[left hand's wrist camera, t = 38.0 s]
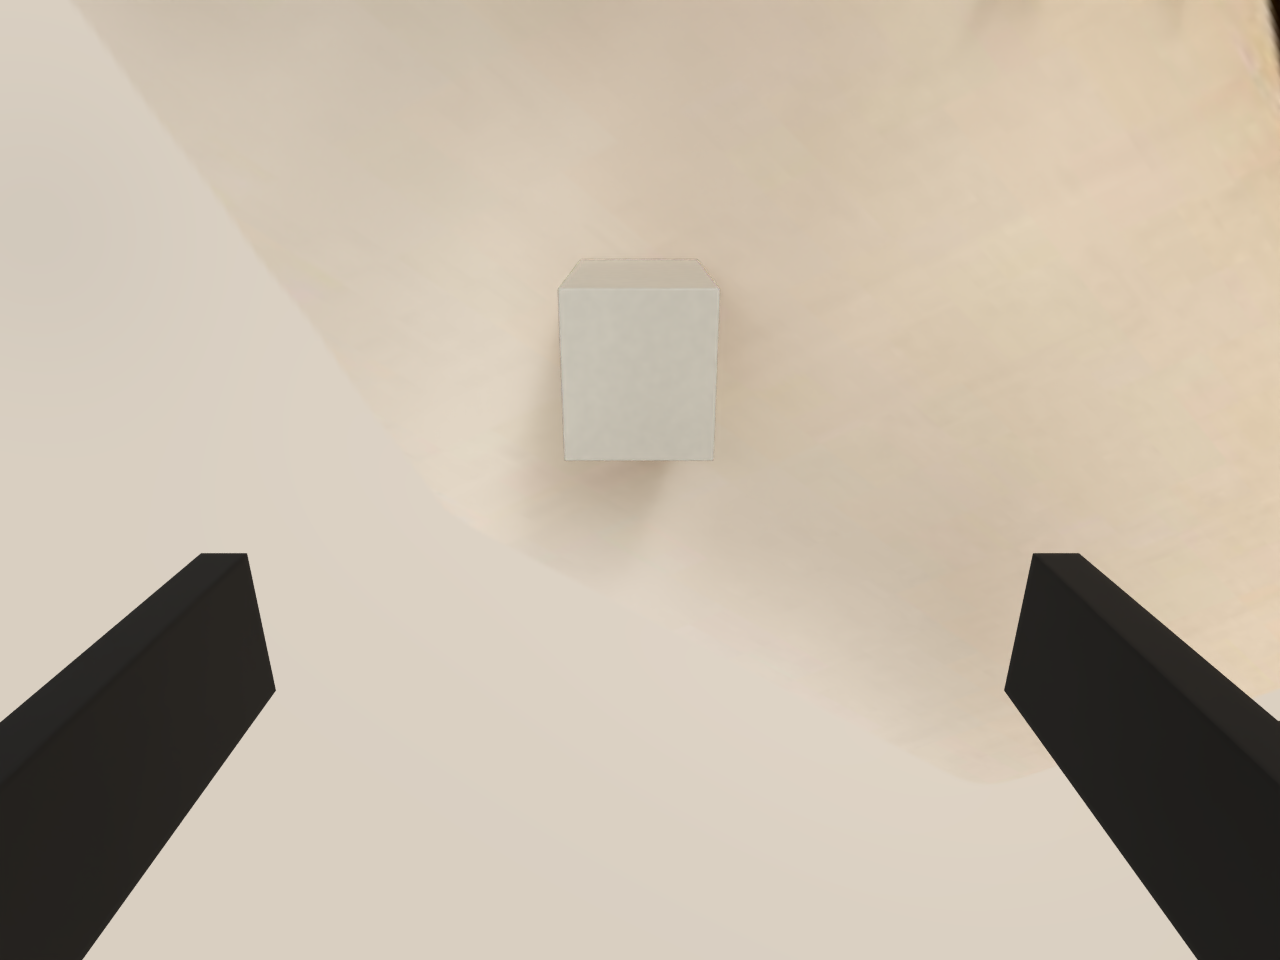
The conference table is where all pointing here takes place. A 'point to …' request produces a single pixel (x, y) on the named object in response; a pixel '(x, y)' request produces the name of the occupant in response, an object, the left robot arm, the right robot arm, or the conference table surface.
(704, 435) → the block
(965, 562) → the conference table surface
